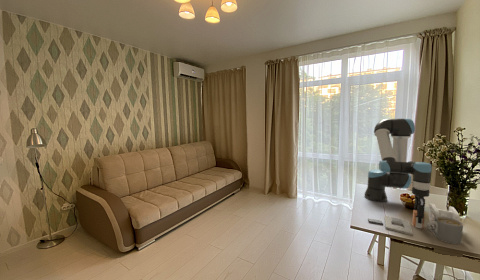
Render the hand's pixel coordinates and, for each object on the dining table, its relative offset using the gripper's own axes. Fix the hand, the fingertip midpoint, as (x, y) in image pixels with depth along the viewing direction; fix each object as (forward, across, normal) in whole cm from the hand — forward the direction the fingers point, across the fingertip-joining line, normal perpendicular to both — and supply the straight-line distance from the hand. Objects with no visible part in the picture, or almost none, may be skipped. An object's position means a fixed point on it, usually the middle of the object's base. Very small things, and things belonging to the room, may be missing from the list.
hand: (417, 224), depth 115 cm
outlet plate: (0, +7, -10) cm, 12 cm away
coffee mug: (+1, +8, +9) cm, 12 cm away
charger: (0, 0, 0) cm, 0 cm away
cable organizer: (+1, -6, +12) cm, 13 cm away
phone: (0, +10, -21) cm, 23 cm away
